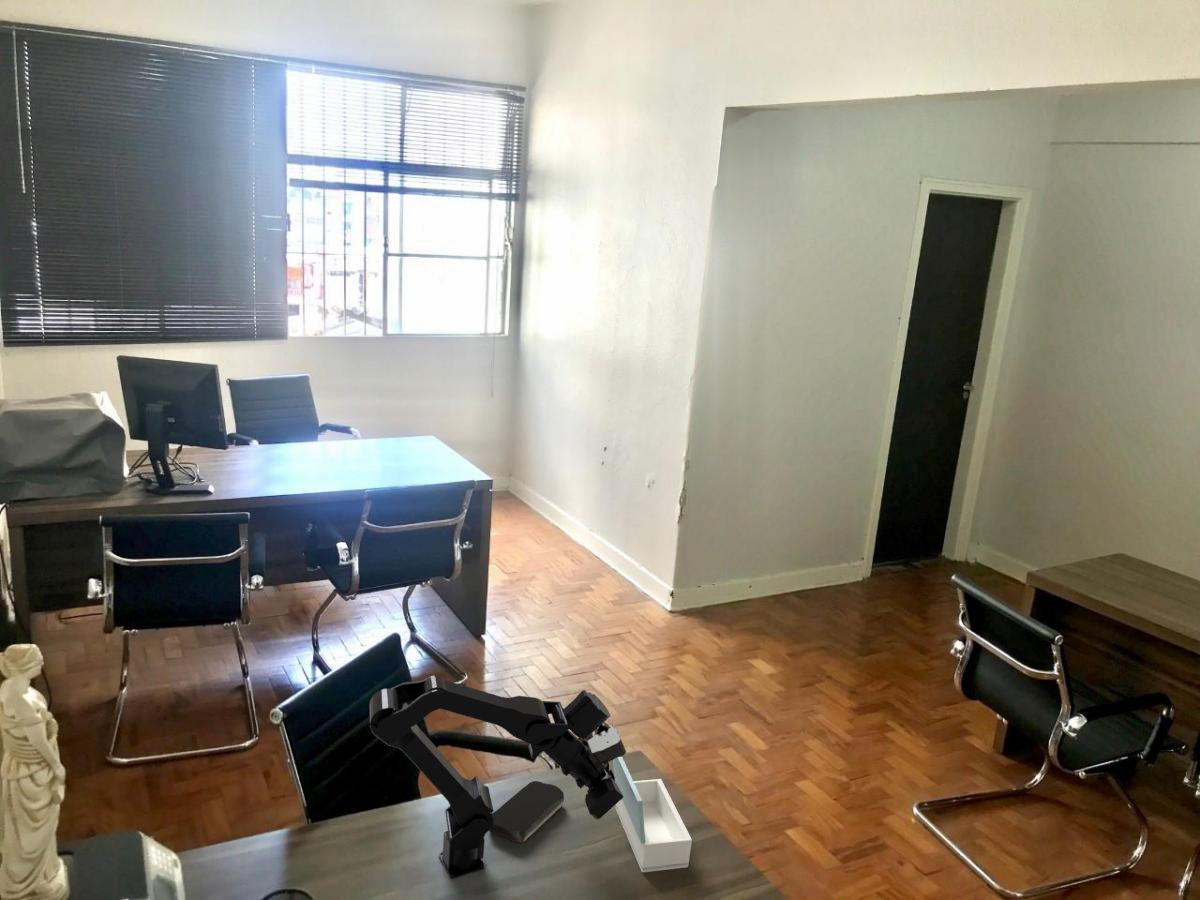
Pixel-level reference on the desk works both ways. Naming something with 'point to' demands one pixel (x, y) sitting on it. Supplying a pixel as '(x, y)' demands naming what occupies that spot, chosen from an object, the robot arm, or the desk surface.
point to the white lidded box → (657, 829)
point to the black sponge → (527, 811)
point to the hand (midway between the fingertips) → (621, 797)
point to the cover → (630, 796)
